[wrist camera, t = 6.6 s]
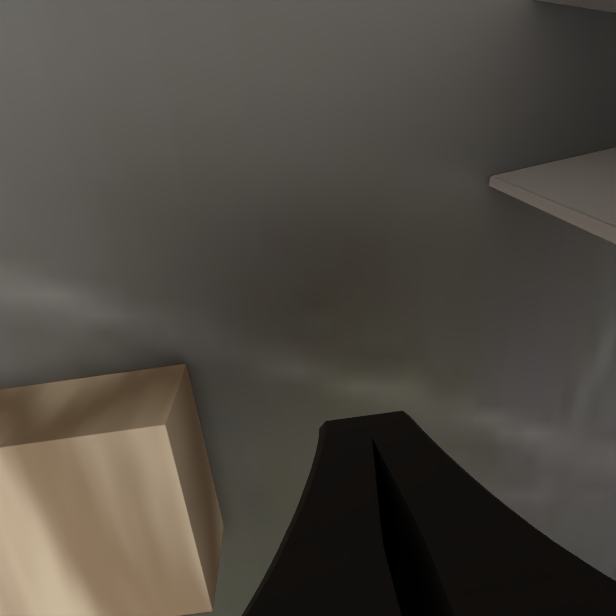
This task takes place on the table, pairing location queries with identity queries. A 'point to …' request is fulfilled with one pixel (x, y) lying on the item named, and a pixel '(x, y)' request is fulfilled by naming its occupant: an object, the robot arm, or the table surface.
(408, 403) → the table surface
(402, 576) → the robot arm
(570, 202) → the tall grey block
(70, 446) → the maple block
